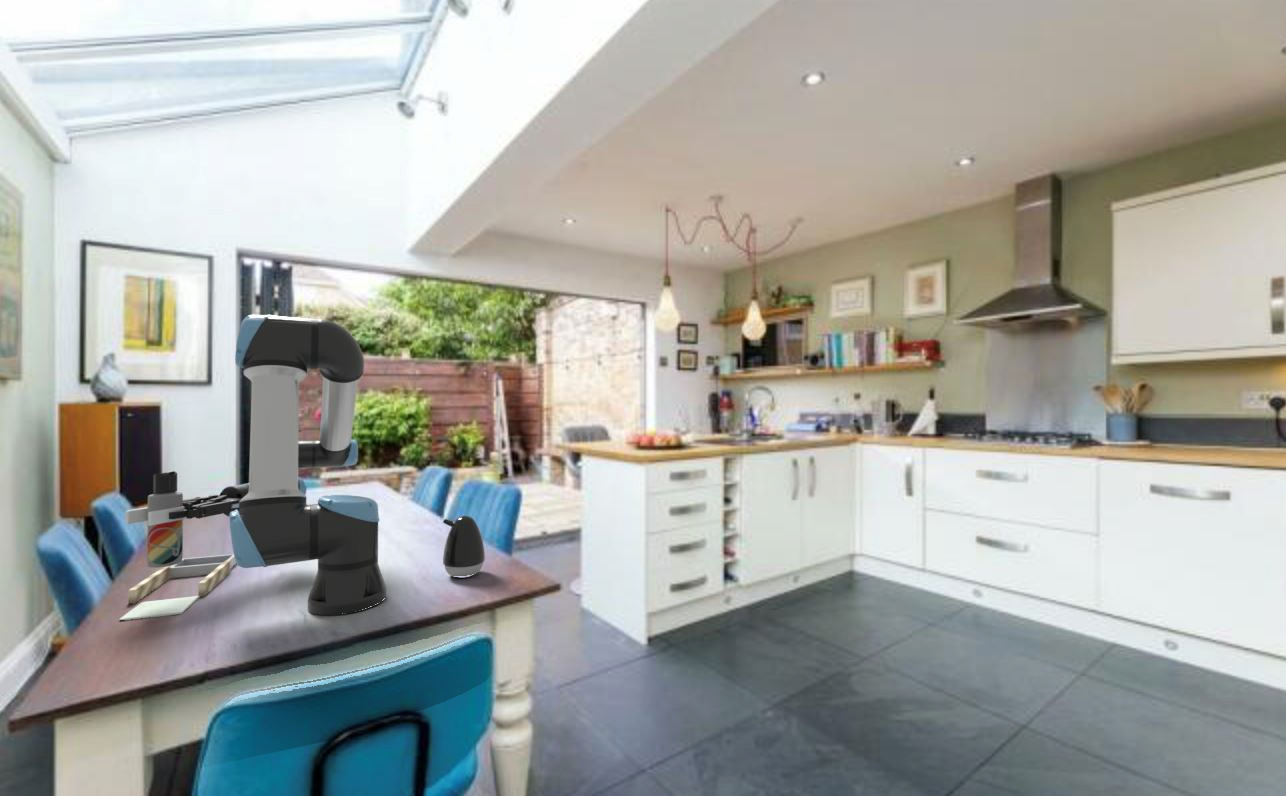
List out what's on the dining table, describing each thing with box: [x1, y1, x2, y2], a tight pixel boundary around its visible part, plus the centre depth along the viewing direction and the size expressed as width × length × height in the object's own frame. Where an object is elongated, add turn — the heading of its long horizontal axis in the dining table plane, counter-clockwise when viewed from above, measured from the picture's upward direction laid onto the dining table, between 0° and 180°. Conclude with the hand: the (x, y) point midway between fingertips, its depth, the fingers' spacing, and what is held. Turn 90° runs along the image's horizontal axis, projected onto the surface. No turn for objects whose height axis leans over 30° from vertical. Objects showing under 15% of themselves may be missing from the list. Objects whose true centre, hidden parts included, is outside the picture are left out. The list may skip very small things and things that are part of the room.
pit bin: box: [170, 553, 238, 579], centre depth 139 cm, size 9×12×2 cm
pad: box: [118, 595, 201, 621], centre depth 114 cm, size 10×10×1 cm
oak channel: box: [127, 561, 231, 604], centre depth 127 cm, size 18×13×3 cm
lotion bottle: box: [146, 471, 184, 569], centre depth 116 cm, size 6×6×20 cm
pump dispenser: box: [442, 515, 486, 577], centre depth 137 cm, size 10×10×15 cm
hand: (138, 518), depth 111 cm, fingers closed on lotion bottle, 5 cm apart
